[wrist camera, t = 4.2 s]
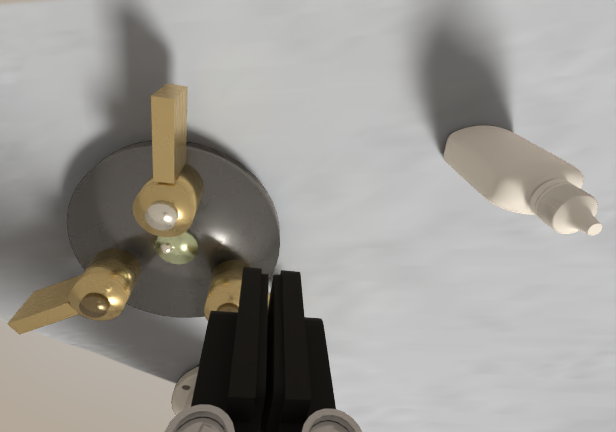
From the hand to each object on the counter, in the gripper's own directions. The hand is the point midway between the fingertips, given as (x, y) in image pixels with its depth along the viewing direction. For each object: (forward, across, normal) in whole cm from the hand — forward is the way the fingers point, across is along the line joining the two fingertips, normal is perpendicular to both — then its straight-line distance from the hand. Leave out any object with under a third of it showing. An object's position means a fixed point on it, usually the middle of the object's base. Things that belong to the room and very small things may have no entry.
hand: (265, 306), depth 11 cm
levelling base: (+18, +6, +10) cm, 21 cm away
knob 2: (+16, +6, +2) cm, 17 cm away
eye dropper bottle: (+18, -16, -1) cm, 24 cm away
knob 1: (+16, +13, +14) cm, 25 cm away
